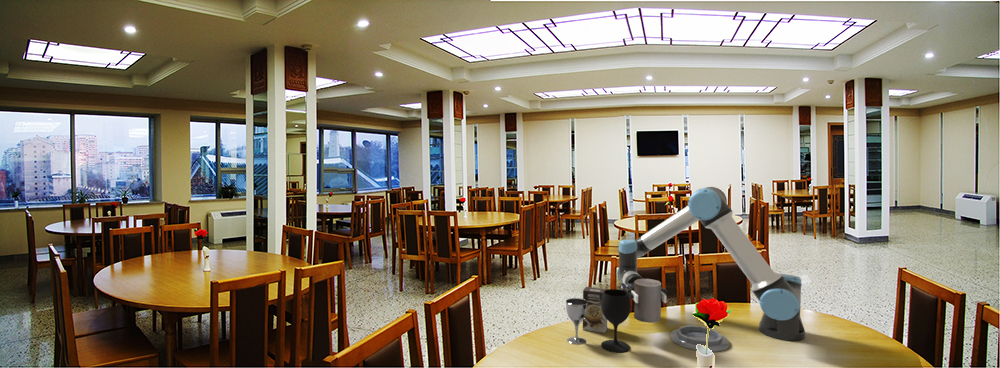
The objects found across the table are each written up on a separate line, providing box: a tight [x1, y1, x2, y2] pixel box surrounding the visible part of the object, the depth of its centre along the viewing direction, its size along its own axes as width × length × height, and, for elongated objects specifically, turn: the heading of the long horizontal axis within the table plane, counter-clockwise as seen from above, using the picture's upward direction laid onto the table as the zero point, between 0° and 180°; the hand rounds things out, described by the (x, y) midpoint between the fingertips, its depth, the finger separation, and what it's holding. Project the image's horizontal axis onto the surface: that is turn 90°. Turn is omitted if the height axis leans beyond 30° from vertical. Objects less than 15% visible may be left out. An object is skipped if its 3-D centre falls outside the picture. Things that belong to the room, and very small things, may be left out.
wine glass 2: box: [600, 288, 632, 354], centre depth 162 cm, size 10×10×20 cm
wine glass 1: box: [565, 297, 588, 346], centre depth 168 cm, size 8×8×15 cm
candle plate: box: [670, 324, 730, 353], centre depth 168 cm, size 20×20×3 cm
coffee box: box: [582, 286, 608, 334], centre depth 179 cm, size 9×6×16 cm
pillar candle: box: [633, 278, 662, 323], centre depth 167 cm, size 10×10×15 cm
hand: (651, 299), depth 163 cm, fingers closed on pillar candle, 9 cm apart
